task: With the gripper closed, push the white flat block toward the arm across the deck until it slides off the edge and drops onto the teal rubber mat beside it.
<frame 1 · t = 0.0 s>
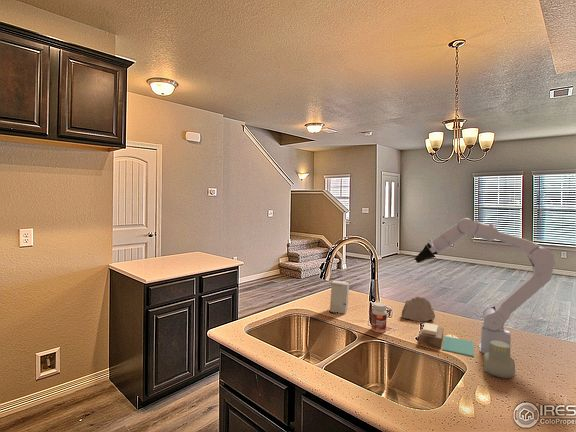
hand: (417, 259, 138), 32 cm above the worktop, tool tilted 50°, fingers open, 7 cm apart
air freshener: (498, 374, 111), on the worktop
deck: (431, 340, 135), on the worktop
pumice stone: (417, 319, 160), on the worktop
skincare box: (339, 311, 168), on the worktop
pill bottle: (378, 330, 145), on the worktop
mat: (458, 346, 130), on the worktop
white flat block: (430, 330, 135), point 4 cm above the worktop, touching deck
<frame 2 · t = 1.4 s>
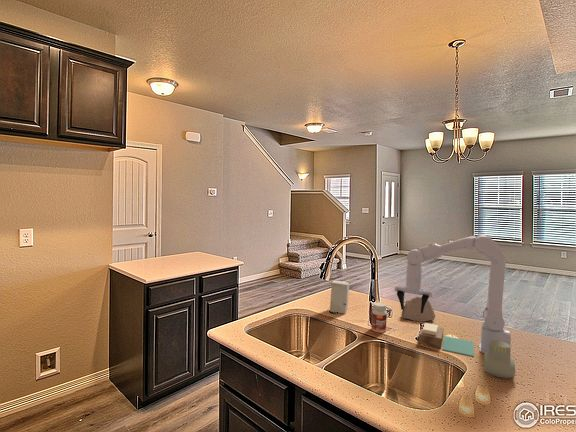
hand: (412, 310, 139), 11 cm above the worktop, tool pointing down, fingers open, 7 cm apart
nothing on the worktop moved.
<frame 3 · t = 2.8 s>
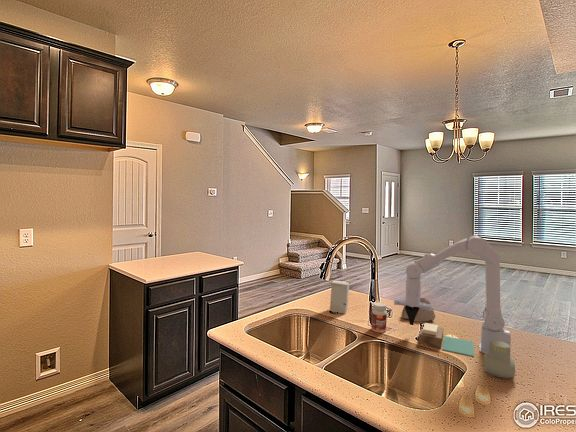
hand: (411, 324, 139), 5 cm above the worktop, tool pointing down, fingers closed
nothing on the worktop moved.
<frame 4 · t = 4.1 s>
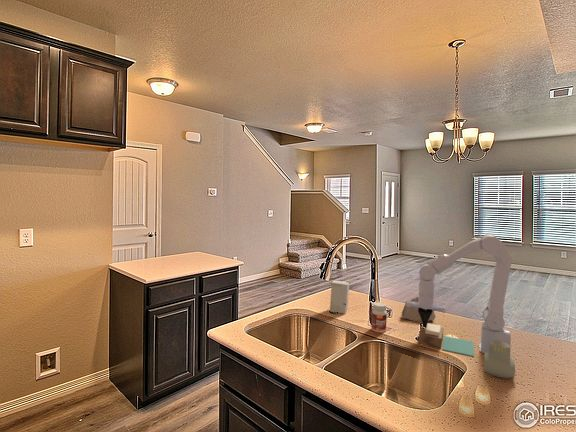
hand: (424, 326, 137), 5 cm above the worktop, tool pointing down, fingers closed
white flat block: (433, 331, 135), point 4 cm above the worktop, touching gripper
everything else where it was.
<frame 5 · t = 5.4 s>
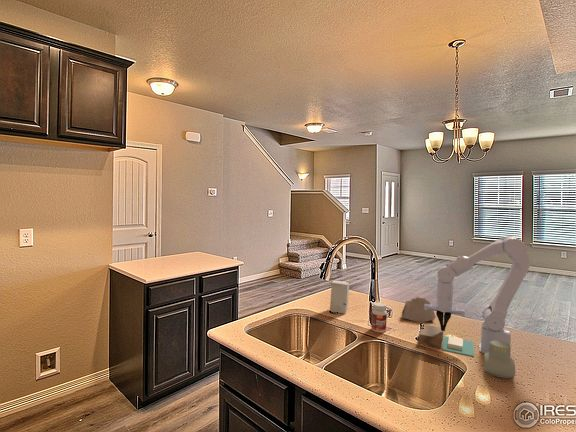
hand: (443, 330, 134), 5 cm above the worktop, tool pointing down, fingers closed
white flat block: (455, 341, 131), point 2 cm above the worktop, tilted 180°, touching mat
everything else where it was.
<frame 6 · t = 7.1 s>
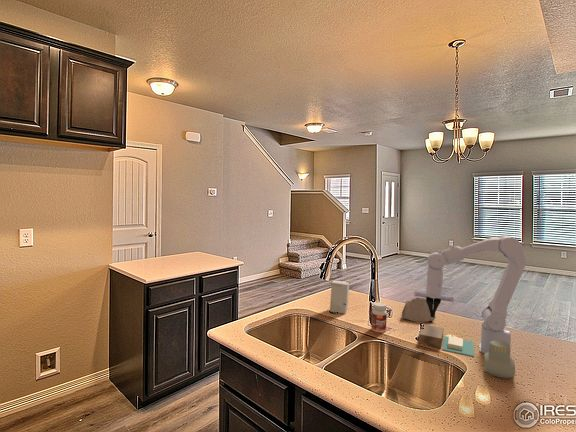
hand: (432, 316, 134), 10 cm above the worktop, tool pointing down, fingers closed
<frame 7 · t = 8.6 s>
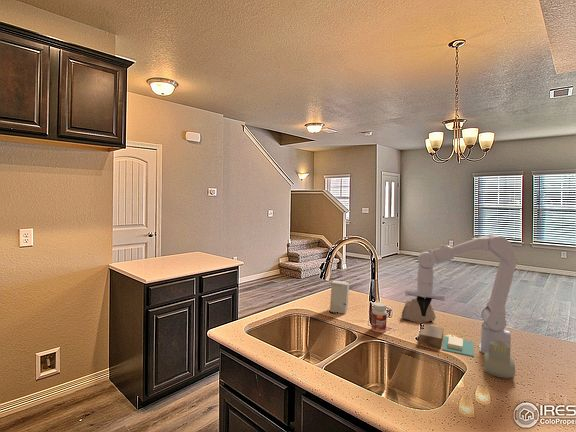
hand: (423, 315, 134), 10 cm above the worktop, tool pointing down, fingers closed
at the end: white flat block inside the target area (1.0 cm from its centre), point 1.9 cm above the worktop; white flat block touching mat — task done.
